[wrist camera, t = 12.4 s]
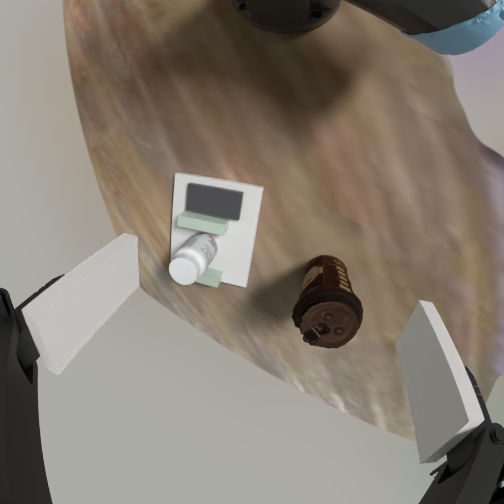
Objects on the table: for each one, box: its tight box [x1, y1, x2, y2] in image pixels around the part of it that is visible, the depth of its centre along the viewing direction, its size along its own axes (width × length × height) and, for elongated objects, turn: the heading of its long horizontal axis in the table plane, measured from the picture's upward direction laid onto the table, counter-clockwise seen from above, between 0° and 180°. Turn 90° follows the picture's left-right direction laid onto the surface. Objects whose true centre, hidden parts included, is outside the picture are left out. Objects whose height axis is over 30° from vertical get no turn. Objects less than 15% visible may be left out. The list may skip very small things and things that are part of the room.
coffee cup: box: [292, 255, 363, 349], centre depth 37 cm, size 9×8×13 cm
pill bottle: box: [169, 232, 218, 285], centre depth 40 cm, size 5×5×8 cm
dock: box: [171, 172, 264, 287], centre depth 42 cm, size 16×13×4 cm
